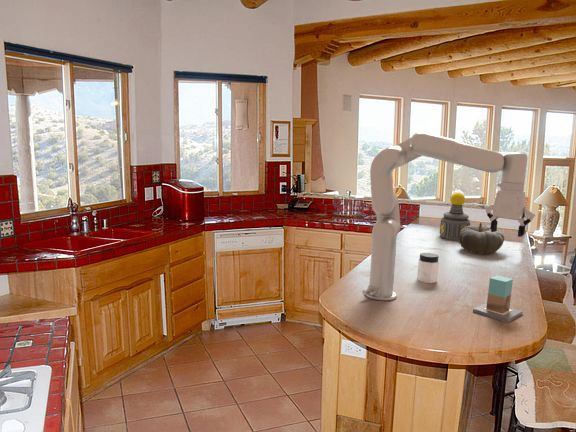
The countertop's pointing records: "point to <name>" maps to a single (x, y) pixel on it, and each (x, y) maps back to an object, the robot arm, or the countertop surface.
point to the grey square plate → (504, 316)
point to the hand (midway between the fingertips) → (506, 233)
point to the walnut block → (498, 303)
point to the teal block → (500, 286)
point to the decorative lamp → (454, 219)
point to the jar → (428, 268)
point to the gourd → (480, 239)
